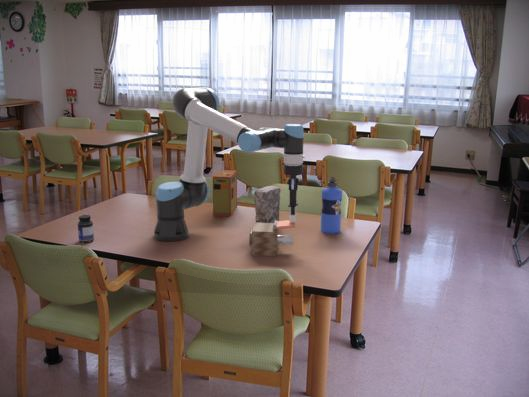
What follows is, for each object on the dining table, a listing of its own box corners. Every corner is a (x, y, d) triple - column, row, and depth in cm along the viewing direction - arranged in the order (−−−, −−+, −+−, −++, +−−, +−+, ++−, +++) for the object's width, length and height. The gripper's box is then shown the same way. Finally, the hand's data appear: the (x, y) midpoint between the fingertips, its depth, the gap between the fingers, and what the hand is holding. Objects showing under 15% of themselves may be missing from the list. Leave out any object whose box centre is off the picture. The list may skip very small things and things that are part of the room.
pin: (249, 247, 217) (249, 233, 215) (251, 243, 222) (251, 229, 221) (291, 249, 215) (292, 235, 214) (292, 244, 221) (292, 230, 219)
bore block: (251, 255, 214) (251, 231, 212) (254, 245, 226) (254, 222, 223) (276, 256, 213) (276, 232, 211) (278, 246, 225) (278, 223, 222)
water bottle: (316, 231, 246) (317, 177, 239) (328, 226, 252) (330, 174, 246) (332, 235, 239) (334, 180, 233) (344, 230, 246) (347, 177, 240)
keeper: (272, 230, 212) (272, 226, 212) (274, 224, 221) (274, 220, 221) (294, 228, 211) (294, 224, 211) (295, 222, 220) (295, 218, 220)
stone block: (267, 235, 239) (267, 191, 234) (253, 233, 242) (253, 189, 237) (280, 227, 250) (281, 186, 245) (267, 225, 253) (267, 184, 248)
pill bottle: (78, 239, 231) (76, 215, 229) (93, 237, 234) (91, 213, 231) (79, 243, 226) (77, 218, 223) (94, 242, 228) (92, 217, 225)
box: (220, 206, 286) (219, 170, 281) (237, 207, 284) (236, 170, 280) (213, 215, 270) (212, 176, 265) (230, 216, 268) (230, 177, 263)
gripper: (302, 167, 203) (301, 227, 209) (303, 161, 215) (302, 217, 221) (282, 167, 204) (282, 226, 209) (284, 161, 216) (284, 217, 222)
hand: (292, 221), depth 215 cm, fingers closed
